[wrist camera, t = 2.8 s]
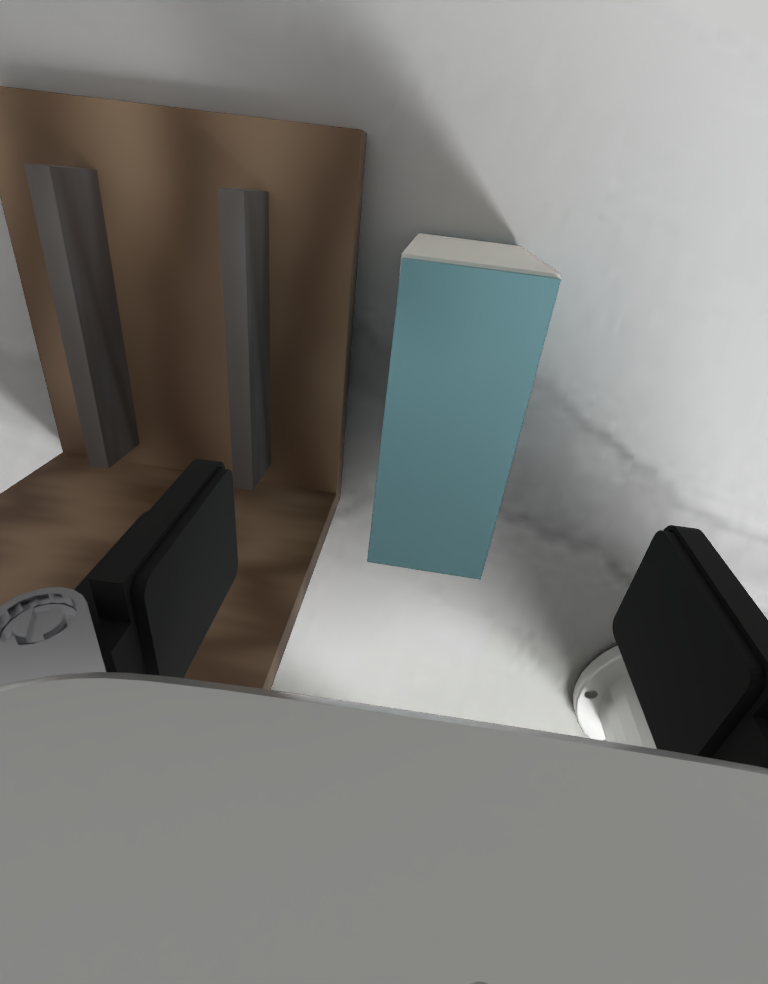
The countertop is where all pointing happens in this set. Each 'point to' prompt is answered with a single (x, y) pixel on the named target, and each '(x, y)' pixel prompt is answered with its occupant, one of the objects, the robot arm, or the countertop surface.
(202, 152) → the wooden book stand
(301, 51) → the countertop surface
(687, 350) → the countertop surface
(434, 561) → the teal book
